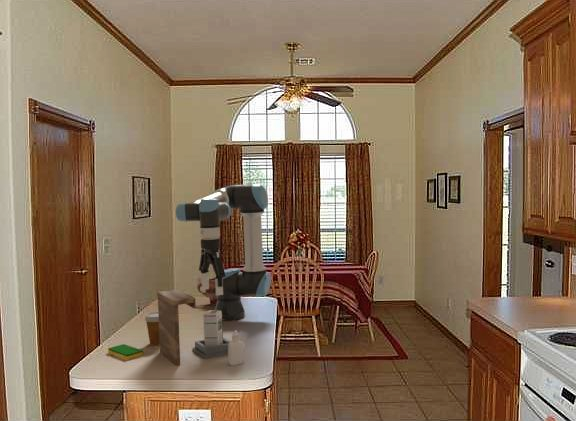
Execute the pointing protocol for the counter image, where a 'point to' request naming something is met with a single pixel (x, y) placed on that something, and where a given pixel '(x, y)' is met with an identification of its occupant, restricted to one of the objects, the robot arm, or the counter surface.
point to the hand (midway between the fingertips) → (212, 292)
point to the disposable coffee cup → (153, 327)
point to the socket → (211, 349)
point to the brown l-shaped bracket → (171, 322)
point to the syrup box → (213, 328)
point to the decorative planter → (210, 291)
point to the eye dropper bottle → (235, 350)
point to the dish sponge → (125, 351)
